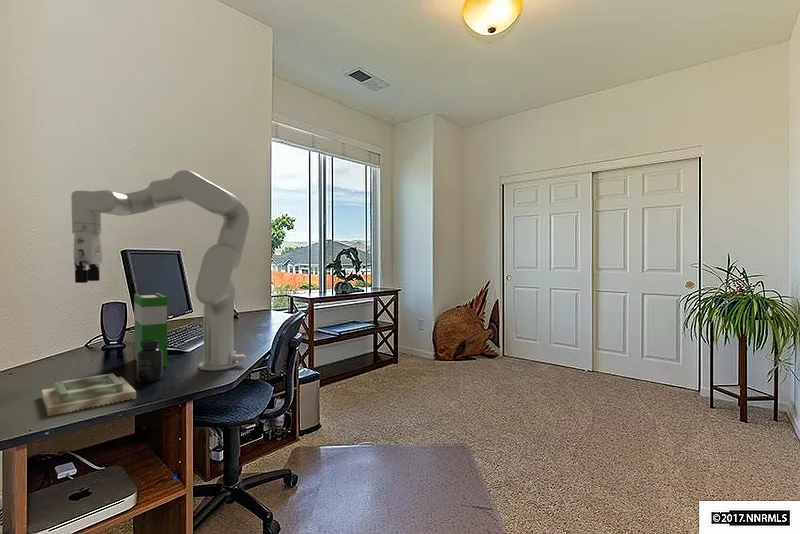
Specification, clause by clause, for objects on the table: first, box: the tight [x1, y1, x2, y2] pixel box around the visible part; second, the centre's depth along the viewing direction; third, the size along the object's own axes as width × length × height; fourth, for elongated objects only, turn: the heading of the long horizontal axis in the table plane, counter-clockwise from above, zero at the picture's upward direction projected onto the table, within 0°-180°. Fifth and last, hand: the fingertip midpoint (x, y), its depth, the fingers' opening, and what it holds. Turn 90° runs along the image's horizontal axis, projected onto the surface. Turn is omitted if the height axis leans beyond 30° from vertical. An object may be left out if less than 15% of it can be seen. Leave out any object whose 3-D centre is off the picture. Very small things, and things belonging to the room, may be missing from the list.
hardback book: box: [133, 292, 168, 368], centre depth 146 cm, size 18×7×24 cm, turn 39°
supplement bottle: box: [136, 339, 164, 383], centre depth 128 cm, size 7×7×12 cm
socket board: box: [41, 372, 137, 417], centre depth 111 cm, size 18×18×4 cm
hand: (87, 281), depth 136 cm, fingers open, 9 cm apart
